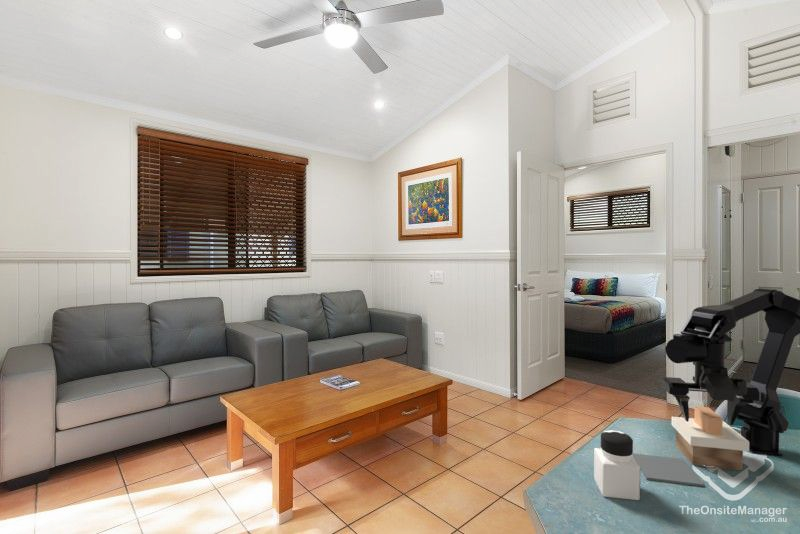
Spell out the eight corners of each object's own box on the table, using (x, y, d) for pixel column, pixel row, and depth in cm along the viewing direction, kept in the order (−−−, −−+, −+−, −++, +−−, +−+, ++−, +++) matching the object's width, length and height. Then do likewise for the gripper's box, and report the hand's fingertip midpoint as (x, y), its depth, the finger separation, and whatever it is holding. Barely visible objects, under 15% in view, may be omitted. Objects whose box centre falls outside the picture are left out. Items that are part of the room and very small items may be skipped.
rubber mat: (682, 460, 98) (682, 458, 98) (703, 486, 88) (703, 484, 87) (632, 455, 101) (632, 453, 101) (646, 479, 90) (646, 477, 90)
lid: (723, 429, 104) (723, 405, 103) (749, 451, 93) (749, 424, 92) (671, 424, 107) (671, 401, 106) (690, 445, 95) (691, 419, 95)
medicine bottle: (640, 501, 83) (641, 443, 82) (602, 497, 84) (603, 440, 84) (628, 481, 90) (629, 428, 89) (593, 478, 91) (594, 425, 91)
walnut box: (720, 449, 103) (721, 426, 103) (742, 470, 94) (743, 444, 93) (675, 445, 106) (676, 422, 106) (692, 464, 96) (693, 440, 96)
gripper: (679, 367, 93) (678, 433, 94) (776, 372, 89) (774, 442, 89) (661, 354, 104) (660, 414, 105) (747, 358, 99) (746, 421, 100)
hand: (708, 422), depth 99 cm, fingers open, 9 cm apart
